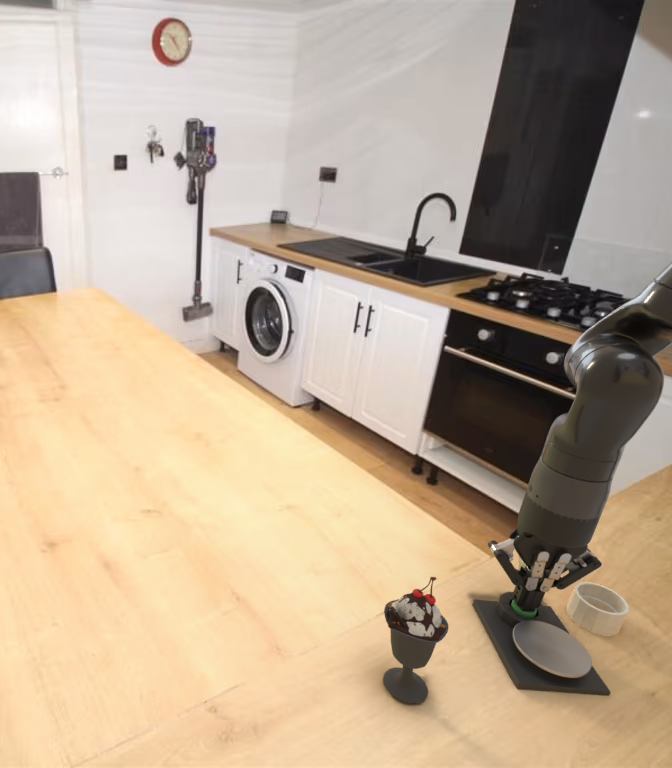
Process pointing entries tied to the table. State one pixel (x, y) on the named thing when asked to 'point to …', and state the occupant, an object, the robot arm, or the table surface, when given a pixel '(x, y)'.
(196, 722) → the table surface
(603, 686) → the scale
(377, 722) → the table surface
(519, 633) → the scale pan
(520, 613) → the tare button
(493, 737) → the table surface
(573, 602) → the bowl
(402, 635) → the sundae
